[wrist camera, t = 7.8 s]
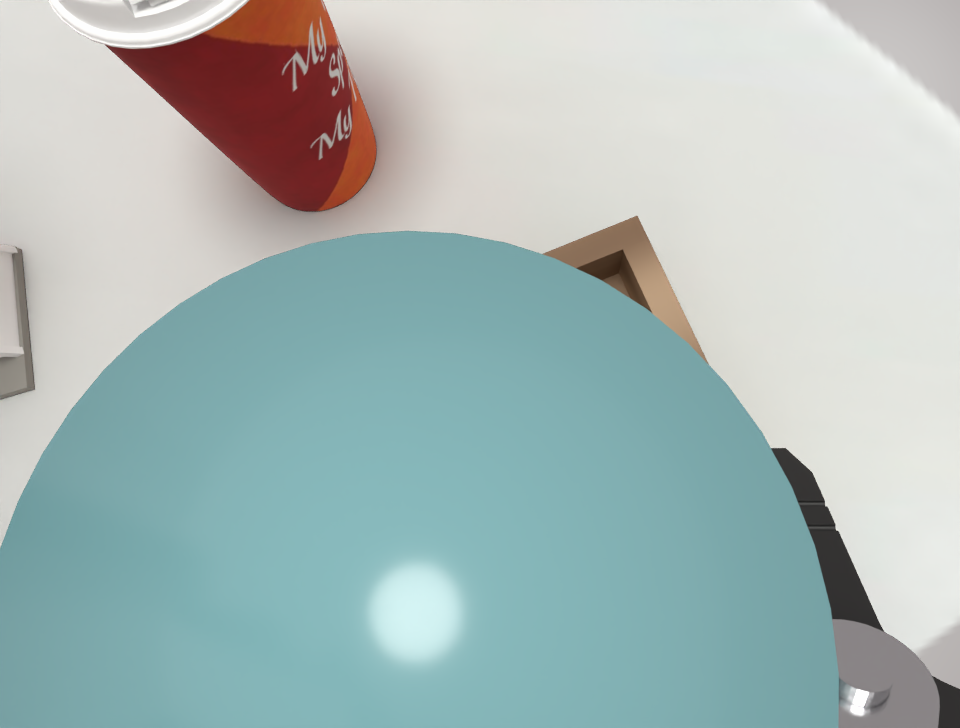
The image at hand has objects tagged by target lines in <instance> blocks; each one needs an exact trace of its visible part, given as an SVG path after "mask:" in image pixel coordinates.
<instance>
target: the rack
mask: <svg viewBox="0 0 960 728" xmlns="http://www.w3.org/2000/svg"><path fill="white" fill-rule="evenodd" d="M543 255H546V256H549V257H552V258H555V259H557V260H559V261H561V262H563V263H566V264H568V265H570V266H572V267H574V268H576V269H578V270H581V271H583V272H585V273H587V274H589V275H591V276H594V277H596V278H598V279H600V280H602V281H603V282H605V283H607V284H608V285H610V286H611V287H613V288H614V289H616V290H618V291H619V292H621V293H622V294H624V295H626V296H627V297H629V298H630V299H632V300H633V301H635V302H637V303H638V304H640V305H641V306H643V307H645V308H646V309H647V310H649V311H650V312H651V313H652V314H653V315H655V316H656V317H657V318H658V319H659V320H661V321H662V322H663V323H664V324H666V325H667V326H668V327H669V328H670V329H672V330H673V331H674V332H675V333H676V334H678V335H679V336H680V337H681V338H682V339H684V340H685V341H686V342H687V343H689V345H690V346H691V347H692V348H693V349H694V350H695V351H696V352H697V353H698V354H699V355H700V356H701V357H702V358H703V359H704V360H705V362H706V363H707V364H708V362H707V360H706V358H705V356H704V354H703V352H702V350H701V347H700V345H699V343H698V341H697V339H696V337H695V335H694V333H693V331H692V329H691V327H690V325H689V322H688V320H687V318H686V316H685V314H684V312H683V310H682V308H681V306H680V304H679V302H678V300H677V297H676V295H675V293H674V291H673V289H672V287H671V285H670V283H669V281H668V279H667V277H666V275H665V272H664V270H663V268H662V266H661V264H660V262H659V260H658V258H657V256H656V254H655V252H654V250H653V247H652V245H651V243H650V241H649V239H648V237H647V235H646V233H645V231H644V229H643V227H642V225H641V222H640V220H639V218H638V216H635V217H633V218H630V219H628V220H625V221H623V222H620V223H618V224H616V225H613V226H611V227H608V228H606V229H603V230H601V231H598V232H596V233H593V234H591V235H588V236H586V237H583V238H581V239H578V240H576V241H573V242H571V243H569V244H566V245H564V246H561V247H559V248H556V249H554V250H551V251H549V252H546V253H544V254H543ZM708 365H709V364H708Z"/></svg>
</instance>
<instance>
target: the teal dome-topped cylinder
mask: <svg viewBox="0 0 960 728" xmlns="http://www.w3.org/2000/svg"><path fill="white" fill-rule="evenodd" d="M838 721H839V672H838V664H837V656H836V647H835V639H834V631H833V623H832V615H831V607H830V603H829V599H828V596H827V592H826V588H825V584H824V580H823V576H822V572H821V568H820V564H819V560H818V556H817V552H816V548H815V545H814V542H813V540H812V537H811V534H810V532H809V529H808V527H807V524H806V522H805V519H804V517H803V514H802V512H801V509H800V507H799V504H798V501H797V499H796V496H795V494H794V491H793V489H792V486H791V484H790V483H789V481H788V479H787V477H786V475H785V474H784V472H783V470H782V468H781V466H780V464H779V463H778V461H777V459H776V457H775V455H774V453H773V452H772V450H771V448H770V446H769V444H768V442H767V441H766V439H765V437H764V435H763V433H762V432H761V430H760V429H759V428H758V426H757V425H756V424H755V422H754V421H753V419H752V418H751V417H750V415H749V414H748V413H747V411H746V410H745V408H744V407H743V406H742V404H741V403H740V402H739V400H738V399H737V397H736V396H735V395H734V393H733V392H732V390H731V389H730V388H729V386H728V385H727V384H726V383H725V382H724V381H723V380H722V379H721V378H720V376H719V375H718V374H717V373H716V372H715V371H714V370H713V369H712V368H711V367H710V366H709V365H708V364H707V363H706V362H705V360H704V359H703V358H702V357H701V356H700V355H699V354H698V353H697V352H696V351H695V350H694V349H693V348H692V347H691V346H690V345H689V343H687V342H686V341H685V340H684V339H682V338H681V337H680V336H679V335H678V334H676V333H675V332H674V331H673V330H672V329H670V328H669V327H668V326H667V325H666V324H664V323H663V322H662V321H661V320H659V319H658V318H657V317H656V316H655V315H653V314H652V313H651V312H650V311H649V310H647V309H646V308H645V307H643V306H641V305H640V304H638V303H637V302H635V301H633V300H632V299H630V298H629V297H627V296H626V295H624V294H622V293H621V292H619V291H618V290H616V289H614V288H613V287H611V286H610V285H608V284H607V283H605V282H603V281H602V280H600V279H598V278H596V277H594V276H591V275H589V274H587V273H585V272H583V271H581V270H578V269H576V268H574V267H572V266H570V265H568V264H566V263H563V262H561V261H559V260H557V259H555V258H552V257H549V256H546V255H543V254H540V253H537V252H533V251H530V250H527V249H524V248H521V247H518V246H515V245H511V244H508V243H505V242H499V241H494V240H489V239H483V238H478V237H472V236H467V235H461V234H454V233H436V232H418V231H399V232H384V233H370V234H358V235H352V236H347V237H342V238H337V239H332V240H327V241H322V242H316V243H311V244H308V245H305V246H302V247H299V248H296V249H293V250H290V251H287V252H283V253H280V254H277V255H274V256H271V257H268V258H265V259H263V260H261V261H258V262H256V263H254V264H252V265H250V266H248V267H245V268H243V269H241V270H239V271H237V272H235V273H232V274H230V275H228V276H226V277H224V278H222V279H220V280H218V281H217V282H215V283H213V284H212V285H210V286H208V287H207V288H205V289H203V290H202V291H200V292H198V293H197V294H195V295H194V296H192V297H190V298H189V299H187V300H185V301H184V302H182V303H180V304H179V305H178V306H176V307H175V308H174V309H172V310H171V311H170V312H169V313H167V314H166V315H165V316H163V317H162V318H161V319H160V320H158V321H157V322H156V323H154V324H153V325H152V326H151V327H149V328H148V329H147V330H145V331H144V332H143V333H142V334H140V335H139V336H138V337H137V338H136V339H135V340H134V341H133V342H132V343H131V344H130V345H129V346H128V347H127V348H126V349H125V350H124V351H123V352H122V353H121V354H120V355H119V356H118V357H117V358H116V359H115V360H114V361H113V362H112V363H111V364H110V365H108V366H107V367H106V368H105V369H104V370H103V372H102V373H101V374H100V375H99V377H98V378H97V379H96V380H95V381H94V383H93V384H92V385H91V386H90V387H89V389H88V390H87V391H86V392H85V394H84V395H83V396H82V397H81V398H80V400H79V401H78V402H77V403H76V405H75V406H74V407H73V408H72V409H71V411H70V412H69V414H68V415H67V417H66V418H65V420H64V422H63V423H62V425H61V426H60V428H59V429H58V431H57V432H56V434H55V435H54V437H53V438H52V440H51V441H50V443H49V445H48V446H47V448H46V449H45V451H44V452H43V454H42V456H41V458H40V460H39V462H38V463H37V465H36V467H35V469H34V471H33V473H32V475H31V477H30V479H29V481H28V483H27V485H26V487H25V489H24V491H23V493H22V495H21V497H20V499H19V501H18V503H17V506H16V508H15V511H14V514H13V516H12V519H11V522H10V524H9V527H8V529H7V532H6V535H5V537H4V540H3V543H2V545H1V548H0V728H838Z"/></svg>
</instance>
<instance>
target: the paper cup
mask: <svg viewBox="0 0 960 728" xmlns="http://www.w3.org/2000/svg"><path fill="white" fill-rule="evenodd" d="M48 1H49V3H50V5H51V7H52V8H53V10H54V11H55V12H56V13H57V14H58V16H59V17H60V18H61V19H62V20H63V21H64V22H65V23H66V24H67V25H68V26H70V27H71V28H72V29H73V30H75V31H76V32H77V33H79V34H81V35H83V36H85V37H86V38H88V39H90V40H92V41H95V42H98V43H101V44H105V45H106V46H107V47H108V48H109V49H110V50H111V51H112V52H113V53H114V54H116V55H117V56H118V57H119V58H120V59H121V60H122V61H123V62H124V63H125V64H126V65H128V66H129V67H130V68H131V69H132V70H133V71H134V72H135V73H136V74H137V75H138V76H140V77H141V78H142V79H143V80H144V81H145V82H146V83H147V84H148V85H149V86H151V87H152V88H153V89H154V90H155V91H156V92H157V93H158V94H159V95H160V96H161V97H163V98H164V99H165V100H166V101H167V102H168V103H169V104H170V105H171V106H172V107H173V108H175V109H176V110H177V111H178V112H179V113H180V114H181V115H182V116H183V117H184V118H185V119H187V120H188V121H189V122H190V123H191V124H192V125H193V126H194V127H195V128H196V129H197V130H199V131H200V132H201V133H202V134H203V135H204V136H205V137H206V138H207V139H208V140H210V141H211V142H212V143H213V144H214V145H215V146H216V147H217V148H218V149H219V150H221V151H222V152H223V153H224V154H225V155H226V156H227V157H228V158H229V159H230V160H232V161H233V162H234V163H235V164H236V165H237V166H238V167H239V168H241V169H242V170H243V171H244V172H245V173H246V174H247V175H248V176H249V177H251V178H252V179H253V180H254V181H255V182H256V183H257V184H259V185H260V186H261V187H262V188H263V189H264V190H266V191H267V192H268V193H269V194H270V195H272V196H273V197H274V198H275V199H277V200H278V201H280V202H281V203H283V204H285V205H286V206H288V207H291V208H293V209H297V210H301V211H322V210H327V209H330V208H333V207H336V206H338V205H340V204H342V203H344V202H346V201H347V200H349V199H350V198H352V197H353V196H354V195H355V194H356V193H357V192H358V191H359V190H360V189H361V188H362V187H363V186H364V184H365V183H366V182H367V180H368V178H369V177H370V175H371V172H372V170H373V167H374V164H375V160H376V141H375V136H374V132H373V129H372V126H371V123H370V120H369V117H368V115H367V112H366V109H365V106H364V104H363V101H362V99H361V96H360V93H359V91H358V88H357V86H356V83H355V80H354V78H353V75H352V73H351V70H350V68H349V65H348V63H347V60H346V57H345V55H344V52H343V50H342V47H341V45H340V42H339V40H338V37H337V35H336V32H335V30H334V27H333V25H332V22H331V20H330V17H329V14H328V12H327V9H326V7H325V4H324V2H323V0H48Z"/></svg>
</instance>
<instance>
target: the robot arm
mask: <svg viewBox="0 0 960 728" xmlns="http://www.w3.org/2000/svg"><path fill="white" fill-rule="evenodd" d="M771 450H772V452H773V453H774V455H775V457H776V459H777V461H778V463H779V464H780V466H781V468H782V470H783V472H784V474H785V475H786V477H787V479H788V481H789V483H790V484H791V486H792V489H793V491H794V494H795V496H796V499H797V501H798V504H799V507H800V509H801V512H802V514H803V517H804V519H805V522H806V524H807V527H808V529H809V532H810V534H811V537H812V540H813V542H814V545H815V548H816V552H817V556H818V560H819V564H820V568H821V572H822V576H823V580H824V584H825V588H826V592H827V596H828V599H829V603H830V607H831V615H832V623H833V631H834V639H835V647H836V656H837V664H838V672H839V721H838V728H960V689H958V688H956V687H953V686H951V685H949V684H947V683H944V682H942V681H940V680H939V679H937V678H935V677H933V676H932V675H931V674H930V672H929V671H928V669H927V668H926V666H925V665H924V663H923V662H922V661H921V660H920V659H919V658H918V657H917V656H916V654H915V653H913V652H912V651H911V650H910V649H909V648H908V647H907V646H905V645H904V644H903V643H901V642H900V641H898V640H897V639H895V638H894V637H892V636H891V635H889V634H887V633H885V632H884V631H883V629H882V627H881V625H880V623H879V621H878V619H877V617H876V614H875V612H874V610H873V608H872V605H871V603H870V601H869V599H868V596H867V594H866V592H865V590H864V587H863V585H862V583H861V581H860V578H859V576H858V574H857V572H856V570H855V567H854V565H853V563H852V561H851V558H850V556H849V554H848V552H847V549H846V547H845V545H844V543H843V540H842V538H841V536H840V534H839V532H838V531H836V529H835V523H834V520H833V518H832V516H831V514H830V511H829V509H828V507H825V500H824V498H823V496H822V494H821V491H820V489H819V487H818V485H817V482H816V480H815V478H814V476H813V473H812V472H811V471H810V470H809V469H808V468H807V467H806V466H804V465H803V464H802V463H801V462H800V461H799V460H798V459H797V458H796V457H795V456H793V455H792V454H791V453H790V452H789V451H788V450H787V449H786V448H771Z"/></svg>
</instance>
